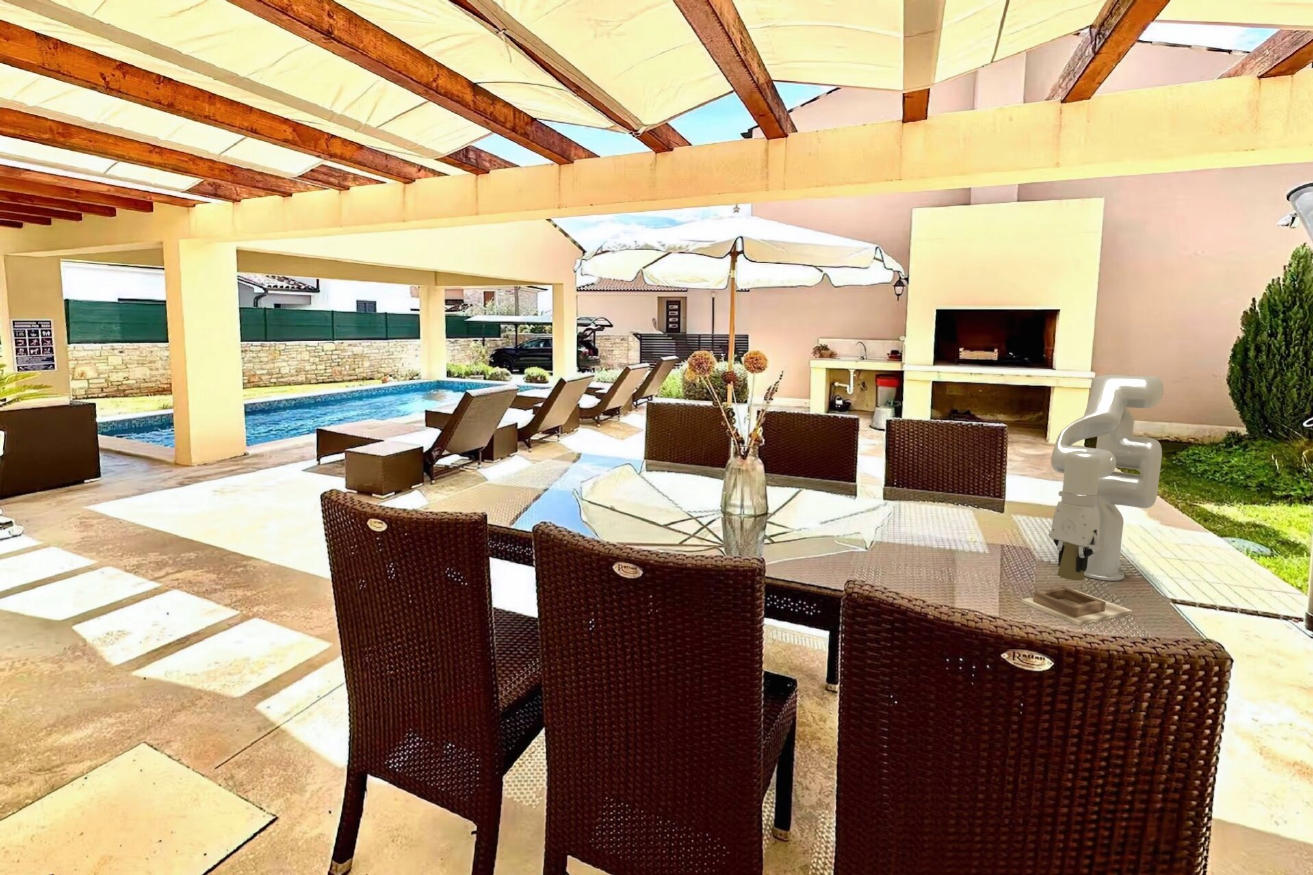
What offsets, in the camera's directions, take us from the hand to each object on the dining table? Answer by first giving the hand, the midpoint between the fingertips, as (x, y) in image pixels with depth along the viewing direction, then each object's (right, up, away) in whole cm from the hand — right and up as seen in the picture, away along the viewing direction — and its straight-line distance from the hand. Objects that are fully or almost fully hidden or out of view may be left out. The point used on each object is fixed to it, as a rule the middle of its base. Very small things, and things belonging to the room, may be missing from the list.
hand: (1071, 567), depth 176 cm
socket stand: (+3, -11, +3) cm, 12 cm away
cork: (0, -2, 0) cm, 2 cm away
